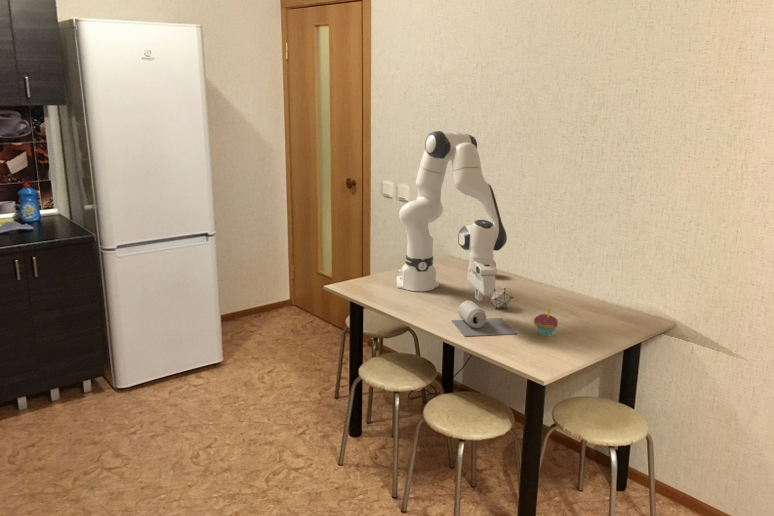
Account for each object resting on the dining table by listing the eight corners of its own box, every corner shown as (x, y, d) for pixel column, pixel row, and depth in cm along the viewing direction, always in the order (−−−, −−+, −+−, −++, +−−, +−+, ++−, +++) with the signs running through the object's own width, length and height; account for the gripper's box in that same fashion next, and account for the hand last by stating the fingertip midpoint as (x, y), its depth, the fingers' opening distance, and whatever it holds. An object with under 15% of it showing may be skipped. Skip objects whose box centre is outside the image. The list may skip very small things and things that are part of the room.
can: (455, 303, 246) (467, 313, 235) (473, 297, 248) (486, 307, 236) (459, 320, 249) (470, 332, 237) (477, 315, 250) (489, 326, 239)
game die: (503, 318, 263) (512, 304, 255) (483, 309, 263) (492, 294, 256) (508, 302, 268) (517, 288, 261) (489, 293, 269) (498, 279, 261)
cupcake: (561, 337, 234) (564, 305, 231) (540, 339, 232) (543, 307, 229) (549, 328, 242) (552, 297, 239) (528, 330, 240) (531, 299, 237)
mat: (451, 321, 247) (451, 320, 247) (501, 318, 251) (501, 317, 251) (464, 336, 232) (464, 336, 232) (517, 334, 236) (517, 333, 236)
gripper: (464, 257, 252) (462, 291, 256) (482, 271, 233) (479, 308, 236) (479, 256, 253) (477, 290, 257) (499, 271, 234) (496, 308, 237)
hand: (478, 299), depth 246 cm, fingers closed
